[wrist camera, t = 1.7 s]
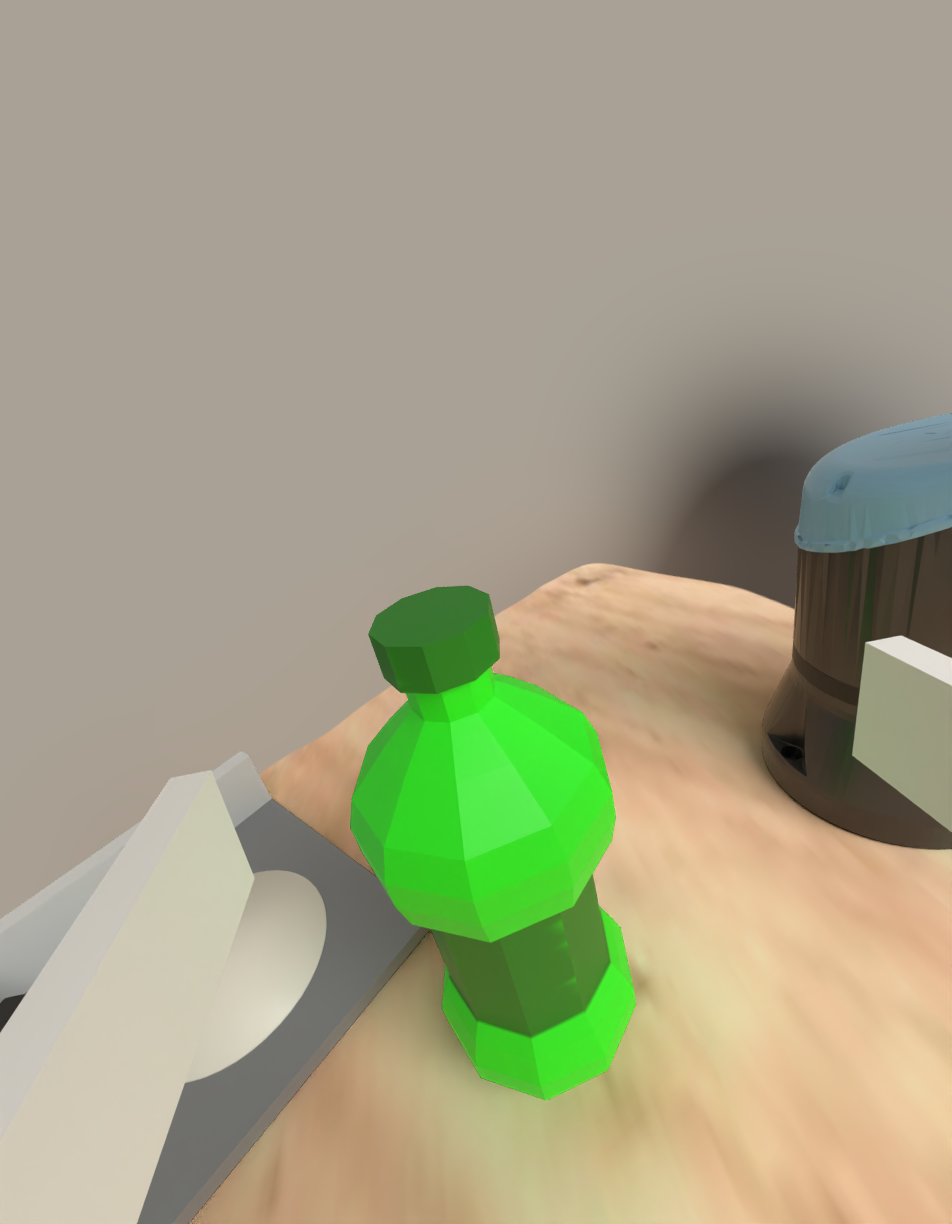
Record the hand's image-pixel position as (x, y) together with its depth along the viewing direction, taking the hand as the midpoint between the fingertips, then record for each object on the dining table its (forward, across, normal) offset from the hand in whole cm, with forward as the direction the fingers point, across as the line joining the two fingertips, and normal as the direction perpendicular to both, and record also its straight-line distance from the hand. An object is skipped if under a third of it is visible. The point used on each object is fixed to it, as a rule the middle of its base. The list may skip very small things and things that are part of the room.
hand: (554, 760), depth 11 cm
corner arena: (+18, -22, -25) cm, 38 cm away
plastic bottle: (+10, 0, -24) cm, 27 cm away
